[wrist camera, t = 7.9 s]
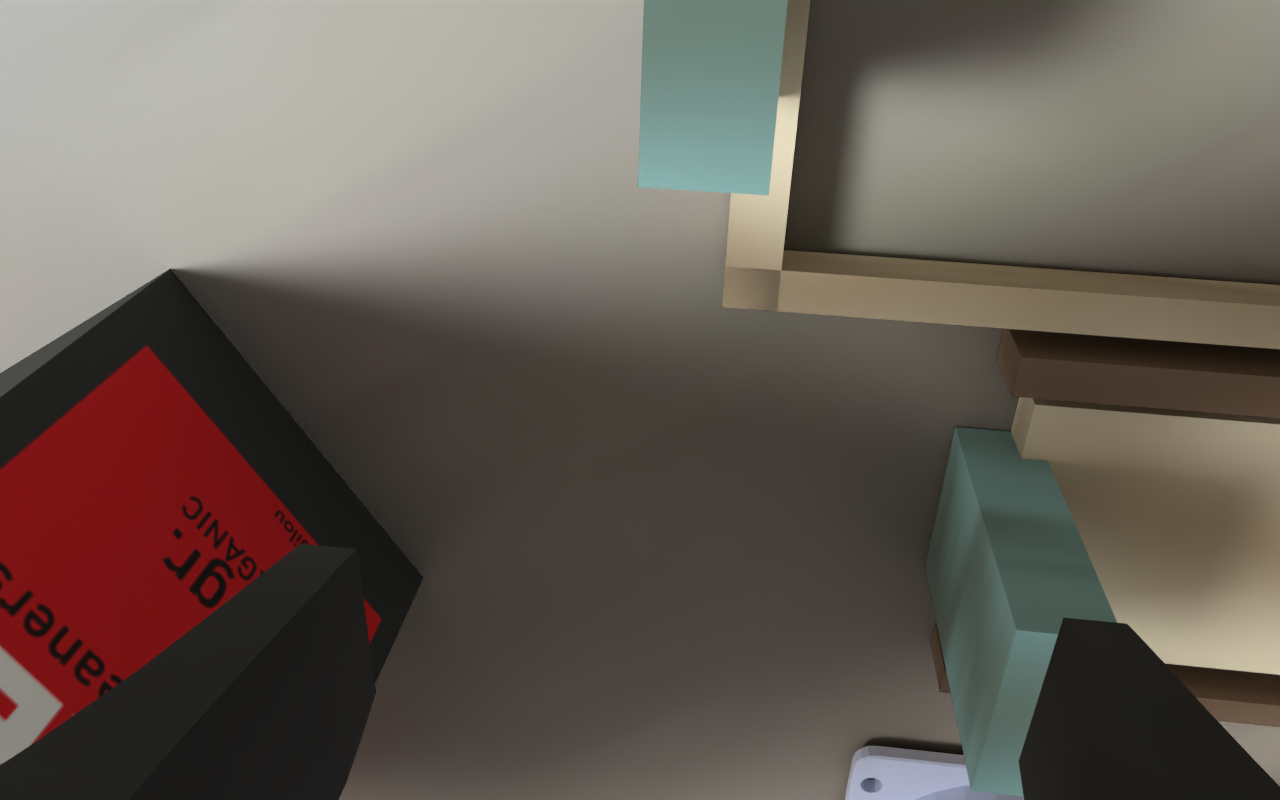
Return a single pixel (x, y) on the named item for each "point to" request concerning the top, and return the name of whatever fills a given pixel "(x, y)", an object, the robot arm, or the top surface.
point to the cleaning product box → (152, 504)
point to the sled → (852, 284)
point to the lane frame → (1110, 530)
